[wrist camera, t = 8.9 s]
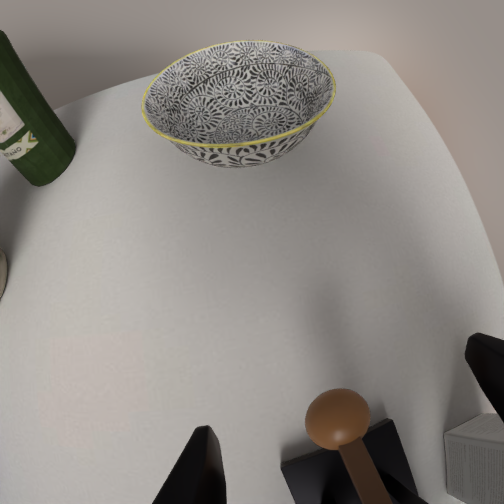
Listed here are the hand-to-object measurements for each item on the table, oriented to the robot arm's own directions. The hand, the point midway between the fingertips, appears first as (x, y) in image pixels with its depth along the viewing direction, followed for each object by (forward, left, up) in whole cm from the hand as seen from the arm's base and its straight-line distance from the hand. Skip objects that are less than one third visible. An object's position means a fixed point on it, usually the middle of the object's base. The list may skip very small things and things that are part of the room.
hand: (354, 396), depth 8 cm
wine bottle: (+33, +20, -12) cm, 40 cm away
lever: (-7, 0, -5) cm, 8 cm away
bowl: (+23, -3, -12) cm, 26 cm away
